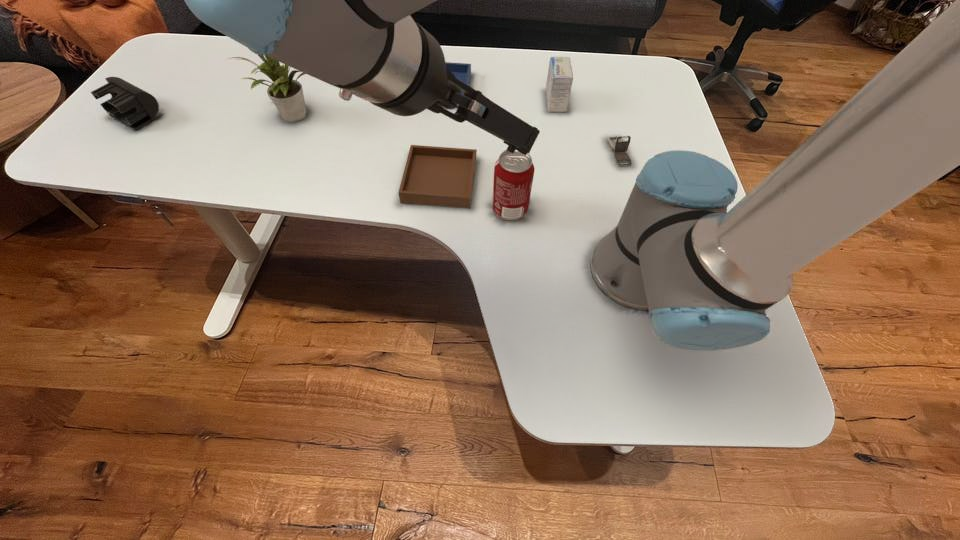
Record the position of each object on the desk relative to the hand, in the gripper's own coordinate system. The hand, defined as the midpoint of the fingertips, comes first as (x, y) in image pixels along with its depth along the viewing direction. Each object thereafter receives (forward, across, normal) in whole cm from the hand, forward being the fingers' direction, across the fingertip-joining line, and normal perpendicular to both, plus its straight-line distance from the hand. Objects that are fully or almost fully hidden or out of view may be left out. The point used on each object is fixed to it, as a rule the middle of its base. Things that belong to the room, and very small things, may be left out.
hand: (483, 121), depth 55 cm
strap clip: (+44, +10, +8) cm, 46 cm away
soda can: (+25, 0, -11) cm, 28 cm away
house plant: (+22, -55, -16) cm, 61 cm away
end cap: (+8, -80, -30) cm, 86 cm away
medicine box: (+49, -10, +13) cm, 52 cm away
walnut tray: (+24, -15, -12) cm, 31 cm away
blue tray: (+41, -34, +4) cm, 53 cm away
